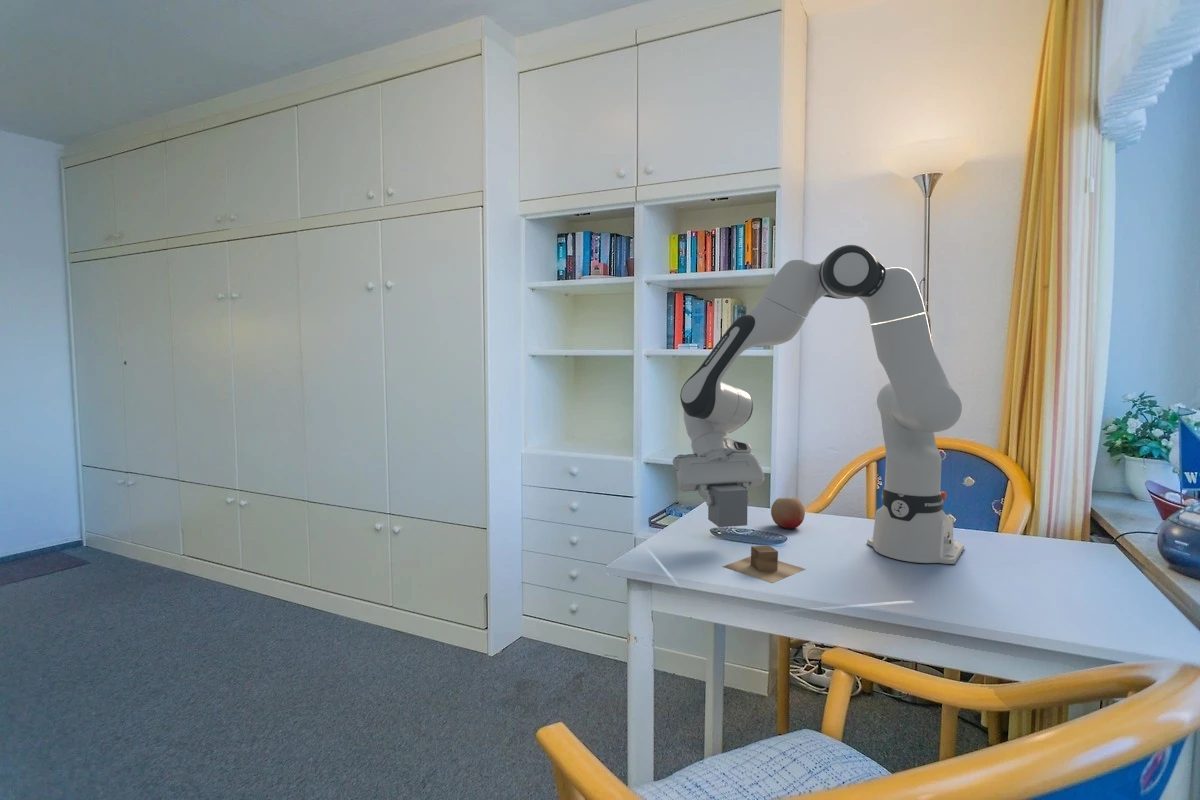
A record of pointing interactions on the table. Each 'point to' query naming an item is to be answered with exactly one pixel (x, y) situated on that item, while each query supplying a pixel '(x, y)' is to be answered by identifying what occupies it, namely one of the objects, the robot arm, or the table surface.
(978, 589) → the table surface
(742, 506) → the plain grey cube
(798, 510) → the fruit
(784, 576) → the cork mat
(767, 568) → the walnut block
